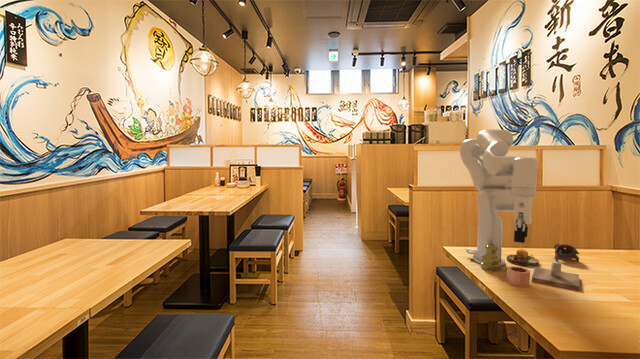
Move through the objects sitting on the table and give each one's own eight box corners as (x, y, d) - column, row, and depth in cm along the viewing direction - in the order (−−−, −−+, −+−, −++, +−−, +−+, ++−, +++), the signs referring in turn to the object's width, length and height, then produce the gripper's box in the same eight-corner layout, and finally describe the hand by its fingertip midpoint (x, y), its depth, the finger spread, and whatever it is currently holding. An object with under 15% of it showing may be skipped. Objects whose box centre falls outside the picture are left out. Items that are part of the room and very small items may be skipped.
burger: (544, 264, 142) (546, 247, 141) (527, 269, 137) (528, 251, 136) (517, 256, 153) (518, 240, 152) (500, 260, 148) (501, 243, 147)
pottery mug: (586, 264, 143) (584, 250, 140) (566, 274, 144) (563, 259, 141) (564, 249, 154) (561, 235, 152) (545, 258, 155) (542, 244, 152)
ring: (505, 283, 121) (506, 270, 120) (508, 277, 127) (508, 265, 126) (528, 288, 117) (529, 274, 116) (529, 282, 122) (530, 269, 122)
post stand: (531, 281, 123) (532, 264, 123) (534, 270, 135) (535, 254, 134) (579, 290, 115) (581, 272, 115) (578, 278, 126) (579, 261, 126)
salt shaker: (503, 272, 133) (505, 248, 131) (483, 271, 134) (484, 247, 132) (497, 264, 140) (499, 242, 138) (478, 263, 141) (479, 241, 140)
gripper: (534, 195, 110) (531, 246, 111) (537, 190, 124) (534, 236, 125) (508, 193, 114) (505, 242, 115) (514, 189, 128) (511, 233, 129)
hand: (520, 239), depth 120 cm, fingers open, 9 cm apart
